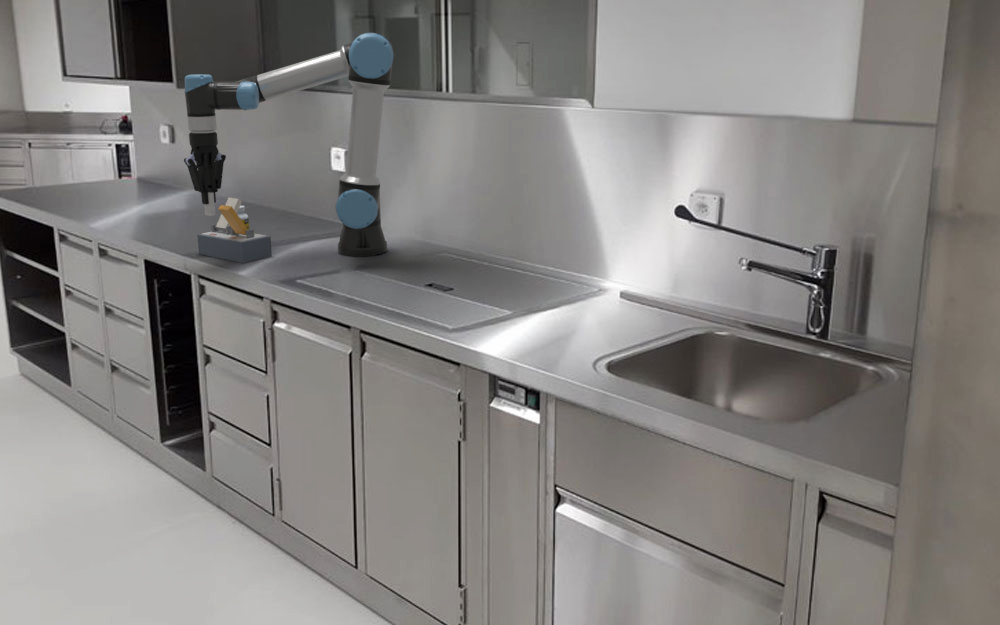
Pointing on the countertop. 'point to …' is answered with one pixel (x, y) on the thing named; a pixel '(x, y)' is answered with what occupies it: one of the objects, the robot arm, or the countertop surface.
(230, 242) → the breaker panel
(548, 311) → the countertop surface
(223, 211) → the orange lever
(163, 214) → the countertop surface
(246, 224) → the pill bottle
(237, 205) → the ivory lever
